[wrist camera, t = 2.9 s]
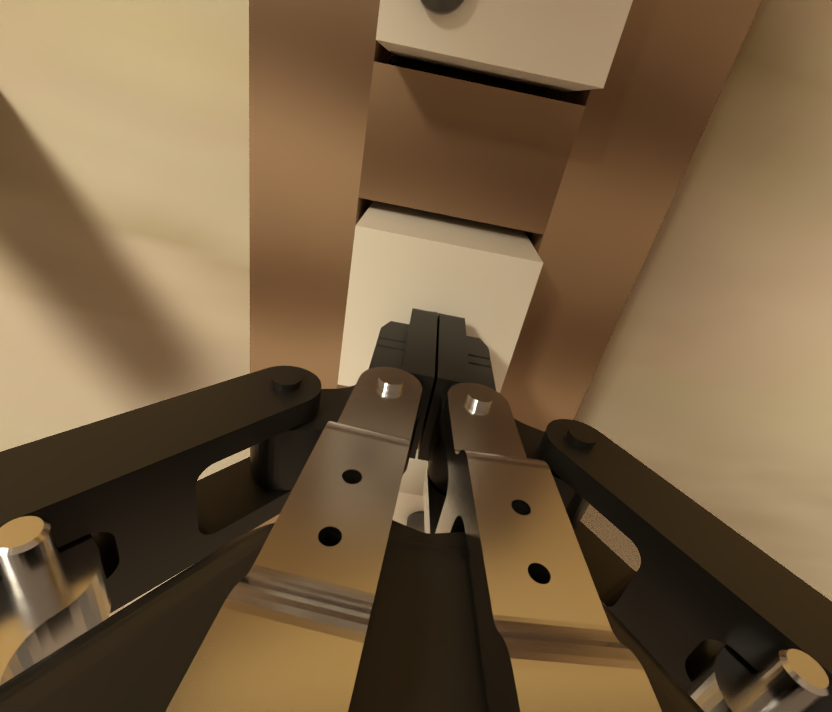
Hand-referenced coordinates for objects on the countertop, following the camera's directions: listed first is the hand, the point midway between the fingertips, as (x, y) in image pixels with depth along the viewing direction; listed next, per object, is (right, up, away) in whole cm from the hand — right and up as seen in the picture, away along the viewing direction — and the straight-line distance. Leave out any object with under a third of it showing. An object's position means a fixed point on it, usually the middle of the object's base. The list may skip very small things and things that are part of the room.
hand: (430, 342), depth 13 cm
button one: (0, +2, +3) cm, 4 cm away
